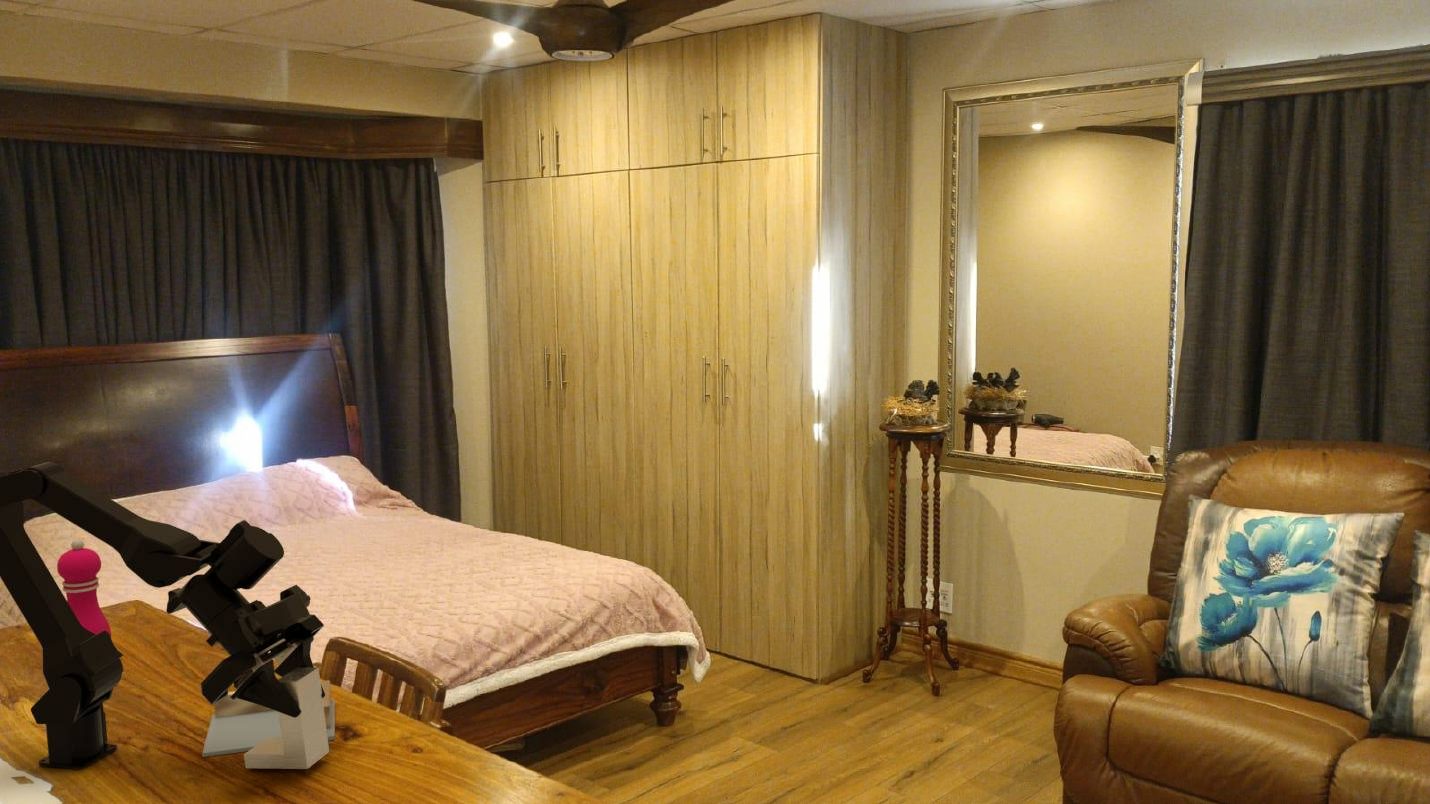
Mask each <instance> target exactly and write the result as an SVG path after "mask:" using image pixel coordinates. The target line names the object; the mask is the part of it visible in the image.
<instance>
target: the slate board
mask: <svg viewBox="0 0 1430 804" xmlns="http://www.w3.org/2000/svg"><path fill="white" fill-rule="evenodd" d="M335 707H336V701H335V700H334V699H331V728H326V730H327V737H328V741H334V740H335V739H336V737H335V736H336V735H335V734H336V731H335V730H336V729H335V728H336V724H335V722H336V721H335V720H336V715H335V714H336V708H335ZM266 738H281V731H280V723H279V715H278V711H267V712H258V713H250V714H242V715H234V716H226V717H218V718H215V714H212V715H211V718H210V723H209V726H208V730H207V734H206V738H205V741H204V746H203V750H202V753H201V755H202V758H205V757H206V758H207V757H213V756H222V755H228V754H236V753H244V752H245V753H246V752H248V751H249V750H251V749H252V748H254V747H255V746H256V745H258V744H259V743H261V742H262V741H264V740H265V739H266Z"/></svg>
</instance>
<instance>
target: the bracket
mask: <svg viewBox="0 0 1430 804" xmlns="http://www.w3.org/2000/svg"><path fill="white" fill-rule="evenodd" d="M320 676H321V675H320V669H319V667H314V668H296V669H294V670H293V671H291V672H289V673H288V674H286V675H285V676H283V677H281V676H280V677H279V678H277V679H278V681H279V682H280V683H281V684H282V686H283V687H284V688H285V689H286V691H287V692H288V693H289V694H290V696H291V697H292V698H293V699H294V701H295V702H296V703H297V705H298V706H299V708H300V710H301V714H300V715H299V716H298V717H296V718H294V717H291V716H288V715H286V714H283V713H280V712H278V715H279V723H280V731H281V738H266V739H265V740H264V741H262V742H261V743H259V744H258V745H256V746H255V747H254V748H252V749H251V750H249V751H245V753H244V754H243V758H244V764H245V766H244V767H245V769H279V770H280V769H281V770H282V769H283V770H285V769H288V770H291V769H292V770H294V769H295V770H297V769H298V770H303V769H304V770H308V769H309V768H311V767H312V766H313V765H314V764H315V763H317V762H318V761H319V760H321V759H323V757H324V756H326V755H327V754H328V753H330V746H329V740H328V737H327V730H326V722H325V714H324V706H323V698H322V690H321V683H320V681H321V677H320Z"/></svg>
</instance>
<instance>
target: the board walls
mask: <svg viewBox="0 0 1430 804" xmlns="http://www.w3.org/2000/svg"><path fill="white" fill-rule="evenodd" d="M320 683H321V686H322V688H323V690H324V693H325V697H324V698H323V706H324V714H325V722H326V728H331V700H332V697H331V681H330V680H320ZM235 692H236V690H235V691H228V695H227V696H226V697H225V698H223V699H221V700H220V701H218V702H217V703H215V704H214V715H215V718H218V717H226V716H234V715H242V714H250V713H258V712H267V711H275V710H272V709H270V708H267V707H264V706H261V705H258V704H255V703H251V702H248V701H245V700H241V699H235V700H233V699H231V698H230V697H231V696H232V695H233V694H234V693H235Z"/></svg>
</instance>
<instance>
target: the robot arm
mask: <svg viewBox="0 0 1430 804" xmlns="http://www.w3.org/2000/svg"><path fill="white" fill-rule="evenodd" d="M28 500H33V501H35V502H37V503H39V504H40V505H41V506H44V507H45V508H47V509H48V510H50V511H51V512H53V513H55V514H56V515H58V516H60V517H62V518H63V519H64V520H66V521H68V522H70V523H71V524H73V525H75V526H76V527H79V528H80V529H81V530H82V531H85V532H86V533H89V534H90V535H91V536H93V537H95V538H96V539H98V540H99V541H101V542H103V543H104V544H106V545H108V546H110V547H111V548H112V549H113V550H115V551H116V552H117V553H118V554H119V556H120V557H121V559H122V561H123V563H124V564H125V566H126V567H127V568H128V569H129V570H130V571H131V572H133V574H135V575H136V576H137V577H138V578H140V579H141V580H142V581H143V582H144V583H145V584H147V585H148V586H151V587H153V588H157V589H158V588H159V589H160V588H165V587H170V586H172V585H174V584H175V583H178V582H180V581H181V580H183V579H184V578H186V577H189V576H192V575H193V576H192V577H191V578H190V579H189V580H188V581H187V582H186V583H185V584H184V585H183V586H182V587H177V588H175V589H172V590H169V591H168V592H167V595H168V601H167V604H166V613H167V614H169V615H170V614H174V613H176V612H178V611H181V610H183V609H186V610H188V612H190V613H191V615H192V616H193V617H194V618H195V619H196V620H197V622H199V623H200V625H201V626H202V627H203V628H204V629H205V630H206V631H207V632H208V634H210V636H209V637H208V638H207V639H206V640H205V642H206V643H207V644H208V645H209V646H210V647H211V648H212V647H214V646H216V645H220V646H221V648H222V649H223V650H224V651H225V653H227V654H228V655H229V656H228V657H226V658H224V659H222V660H221V661H220V663H219V664H217V666H216V667H215V668H213V670H212V671H211V672H210V673H209V674H208V675H207V676H206V677H205V678H204V679H203V680H202V681H201V683H200V695H201V696H202V697H204V699H205V700H206V701H207V702H208V703H209V704H210V705H211V706H213V705H215V703H217V702H218V701H220V700H221V699H223V698H225V697H226V696H227V695H228V692H229V689H230V688H231V686H232V685H233V688H235V691H236V692H235V693H234V694H233V695H232V696H231V697H230V698H231V699H233V700H235V699H241V700H245V701H248V702H251V703H255V704H258V705H261V706H264V707H267V708H270V709H272V710H275V711H278V712H280V713H283V714H286V715H288V716H291V717H294V718H296V717H298V716H299V715H300V714H301V710H300V708H299V706H298V705H297V703H296V702H295V701H294V699H293V698H292V697H291V696H290V694H289V693H288V692H287V691H286V689H285V688H284V687H283V686H282V684H281V683H280V682H279V681H278V679H279V678H277V677H276V674H277V675H278V676H280V678H281V677H283V676H285V675H286V674H288V673H289V672H291V671H293V670H294V669H296V668H315V667H314V664H313V660H312V658H311V648H312V643H313V642H314V640H315V638H314V637H315V636H316V635H317V634H318V633H319V631H321V629H323V627H324V626H325V625H324V623H323V622H322V621H321V619H320V618H319V617H317V616H316V614H311V613H310V611H309V609H308V607H309V606H310V603H311V601H312V600H311V599H312V598H311V596H310V595H309V594H307V593H306V592H305V591H304V590H303V589H302V588H301V587H300V586H298V585H297V584H294V585H293V586H290V587H288V588H286V589H284V590H282V591H280V593H279V600H278V601H276V602H274V603H272V604H269V605H267V606H266V605H265V604H264V602H262V601H261V600H257V599H256V600H253V601H251V602H249V601H248V600H247V598H246V597H245V596H244V595H243V594H242V593H241V592H240V591H239V590H240V589H242V590H251V589H253V588H254V587H256V585H257V584H258V583H259V582H260V581H261V580H262V579H263V578H264V577H265V576H266V575H267V574H268V573H269V572H270V571H271V570H272V569H273V568H274V567H275V566H276V565H277V564H278V563H279V562H280V561H281V560H282V559H283V558H284V556H285V550H284V547H283V545H282V543H281V542H280V541H279V539H278V538H277V537H276V536H275V535H274V534H273V533H272V532H268V531H266V530H265V529H263V528H261V527H259V526H255V525H251V524H250V523H249V522H248V521H247V520H246V519H243V520H240V521H239V522H237V523H235V525H234V526H233V527H232V528H231V529H230V530H229V531H228V533H227V535H226V536H225V537H224V538H223V539H222V540H221V541H220V542H215V541H211V540H204V539H199V538H198V537H197V536H196V535H195V534H193V533H192V532H190V531H187V530H185V529H182V528H179V527H177V526H174V525H172V524H169V523H166V522H160V521H154V520H149V519H147V518H145V517H141V515H138V514H137V513H134V512H132V511H131V510H129V508H126V507H124V506H123V505H121V504H119V503H118V502H116V501H114V500H113V499H112V498H110V497H108V496H106V495H105V494H103V493H102V492H100V491H98V490H97V489H96V488H93V487H92V486H90V485H89V484H87V483H85V482H84V481H82V480H80V479H79V478H77V477H75V476H73V474H70V473H68V472H67V471H66V470H65V468H64V467H63V466H62V465H60V464H59V463H55V462H52V461H46V462H42V463H40V464H39V463H38V464H36V465H31V466H29V467H26V468H21V469H17V470H12V471H9V472H7V471H5V470H1V469H0V579H1V581H2V583H3V585H4V586H5V588H6V590H7V591H8V592H9V594H10V596H11V598H12V599H13V601H14V603H15V605H16V606H17V608H18V610H19V612H20V613H21V614H22V616H23V618H24V619H25V622H27V624H28V626H29V628H30V629H31V632H32V633H33V634H34V636H35V638H36V639H37V641H38V643H39V644H40V646H41V650H42V651H41V653H42V654H41V655H42V675H43V677H44V680H45V682H46V685H47V688H48V690H46V692H45V693H44V694H43V695H42V696H41V697H40V698H39V699H38V700H37V701H36V702H35V703H34V704H33V705H32V707H31V708H30V712H31V714H32V716H33V718H34V721H35V724H37V725H45V728H46V729H45V730H46V741H47V752H48V755H47V756H45V757H44V758H42V759H39V761H38V766H41V767H50V768H60V769H61V768H62V769H71V770H72V769H73V770H83V769H85V768H87V767H89V766H91V765H92V764H94V763H96V762H97V761H99V760H100V759H102V758H104V757H105V756H107V755H109V754H111V753H113V752H115V750H117V749H118V745H117V744H116V743H115V744H114V743H108V731H107V729H108V728H107V720H106V719H107V718H106V713H105V710H104V702H106V701H108V700H110V699H111V698H112V695H113V692H114V688H115V687H117V686H118V684H119V683H120V681H121V680H122V675H123V672H124V665H123V662H122V660H121V658H122V657H123V656H124V654H123V653H122V652H121V651H120V650H118V649H117V647H116V646H115V645H114V643H113V640H112V636H111V637H110V635H109V633H108V632H107V631H106V630H103V631H102V632H100V633H98V634H94V633H92V632H91V631H89V630H87V629H86V628H84V627H83V626H82V625H81V624H80V622H79V620H78V619H77V617H76V615H75V614H74V612H73V610H72V609H71V607H70V605H69V604H68V602H67V598H66V597H65V595H64V594H63V592H62V590H61V588H60V587H59V585H58V584H57V582H56V580H55V578H54V577H53V575H52V573H51V572H50V570H49V568H48V567H47V565H46V563H45V561H44V560H43V558H42V557H41V555H40V553H39V551H38V550H37V548H36V546H35V545H34V543H33V541H32V540H31V538H30V536H29V535H28V533H27V531H26V529H25V526H24V525H25V524H24V523H25V521H24V520H25V518H24V517H25V513H24V511H25V509H24V507H25V506H24V505H25V504H24V502H23V501H28ZM207 567H210V568H209V569H208V570H207V571H205V572H204V573H203V574H202V573H201V574H200V573H199V574H196V573H198V572H199V571H201V570H203V569H204V568H207ZM194 574H195V575H194ZM274 661H275V662H276V663H277V664H278V665H277V667H276V668H275V663H274ZM321 690H322V698H324V697H325V693H324V690H323V688H322V686H321Z"/></svg>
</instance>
